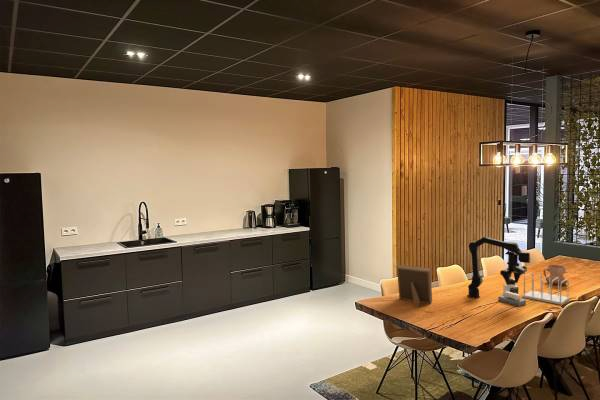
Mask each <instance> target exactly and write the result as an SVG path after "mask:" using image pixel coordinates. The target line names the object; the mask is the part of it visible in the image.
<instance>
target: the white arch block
mask: <svg viewBox="0 0 600 400" xmlns="http://www.w3.org/2000/svg"><path fill="white" fill-rule="evenodd" d="M504 296H505V297H506V298H513V299H514V300H516V301H518V300H519V299H521V294H519V293H518V294H516V293H512V292H508V291H505V292H504Z"/></svg>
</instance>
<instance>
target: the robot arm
mask: <svg viewBox="0 0 600 400" xmlns="http://www.w3.org/2000/svg"><path fill="white" fill-rule="evenodd" d="M483 244H488V245H492V246H495V247H500V248H502V249H505V250H507V251H506V252H505V253H504V254H505V255H507V256H508V257H507V258H508V259H507V262H506V265H507V268H506V269H502V270H500V272H499V274H500V275H501V276H502V277H503V279H504V281H505V285H509V280H510V278H511V277H512V274H513V276H514V278H513V279H515V282H516V284H518V282H519V281H520V277H521V276H522V275H525V273H526V272H527V271H528V267H527V266H526V265H523V266H522V265H520V263H523V264H524V263H527V264H530V263H531V252H522V250H521V249H520V248H519V244H518V243H517V242H515V241H503V240H499V239H495V238H491V237H487V236H483V237H481V238H479V239H477V240H473V241H471V242H470V243H468V248H469V252H470V253H471V263H472V264H471V265H472V277H471V283H470V284H469V285H468V287H467V288H468V294H467V295H466V296H467V297H468V298H472V299H476V298H480V297H481V296H480V289H479V287H481V285H482V284H483V282H484V281H483V275H480V264H479V263H480V262H479V251H480V246H482V245H483Z"/></svg>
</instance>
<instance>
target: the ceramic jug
mask: <svg viewBox="0 0 600 400" xmlns="http://www.w3.org/2000/svg"><path fill="white" fill-rule="evenodd" d="M546 271H547V272H549V274H550V275H549V276H550V285H551V283H552V280H554V279H555V278H557V277H559V286H560V284H561V282H562V281H564V280H566V279H567V278H566V277H564V274H569V273H570V272H569V271H567V267H566V266H565V265H562V264H561V265H560V264H548V265H547V267H546V268H544V269H543V270H542V272H543V273H542V274H543V275H544V278H545V277H547V276H548V275H546V274H547V273H546ZM568 280H569V279H568ZM568 280H566V281H564V282H562V285H561V286H563V285H566V284H568ZM545 281H546V282H547V283H548V284H549V277H547V278H545ZM553 285H556V286H558V278H557V279H556V280H554V281H553V283H552V286H553Z"/></svg>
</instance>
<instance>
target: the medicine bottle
mask: <svg viewBox="0 0 600 400" xmlns="http://www.w3.org/2000/svg"><path fill="white" fill-rule="evenodd" d="M516 284H517V283H516V282H515V278H511V277H510V280H509V285H507V284H503V288H502V289H503V290H502V293H503V295H504V292H505V291H508V292H512V293H516V294H519V286H518V285H516Z"/></svg>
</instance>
